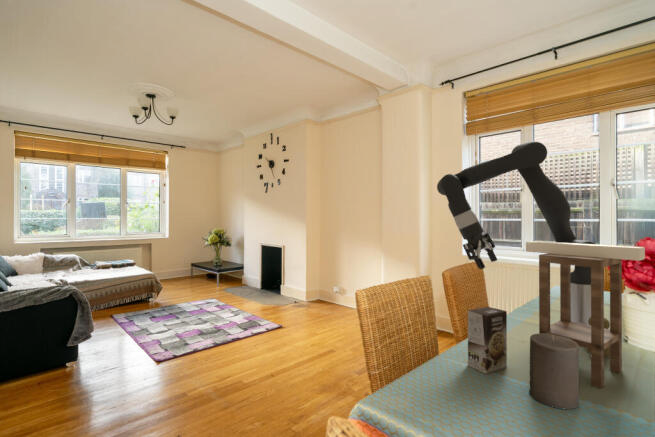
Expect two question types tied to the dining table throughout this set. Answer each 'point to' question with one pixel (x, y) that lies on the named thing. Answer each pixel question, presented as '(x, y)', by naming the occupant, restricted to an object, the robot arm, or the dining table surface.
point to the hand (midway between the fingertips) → (488, 264)
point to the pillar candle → (554, 370)
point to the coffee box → (487, 339)
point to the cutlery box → (587, 250)
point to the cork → (606, 326)
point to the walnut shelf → (594, 333)
